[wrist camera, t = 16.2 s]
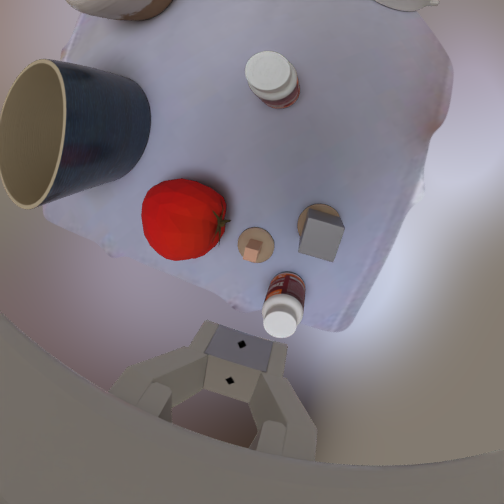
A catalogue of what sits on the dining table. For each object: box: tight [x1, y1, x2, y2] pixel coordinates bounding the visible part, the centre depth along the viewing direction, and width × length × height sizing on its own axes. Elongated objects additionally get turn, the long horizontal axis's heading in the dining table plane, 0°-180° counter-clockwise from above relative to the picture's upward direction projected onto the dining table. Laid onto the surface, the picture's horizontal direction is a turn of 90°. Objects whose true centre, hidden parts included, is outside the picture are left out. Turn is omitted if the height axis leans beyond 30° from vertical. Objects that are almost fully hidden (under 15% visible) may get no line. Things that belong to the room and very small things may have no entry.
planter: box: [0, 59, 150, 209], centre depth 33 cm, size 22×22×20 cm
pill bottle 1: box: [245, 51, 300, 108], centre depth 30 cm, size 6×6×11 cm
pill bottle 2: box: [262, 272, 305, 338], centre depth 41 cm, size 6×6×11 cm
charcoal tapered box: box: [298, 208, 345, 262], centre depth 38 cm, size 5×5×6 cm
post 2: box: [298, 204, 340, 236], centre depth 39 cm, size 7×7×6 cm
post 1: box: [238, 227, 274, 263], centre depth 43 cm, size 6×6×4 cm
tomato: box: [141, 178, 231, 261], centre depth 40 cm, size 13×13×13 cm
